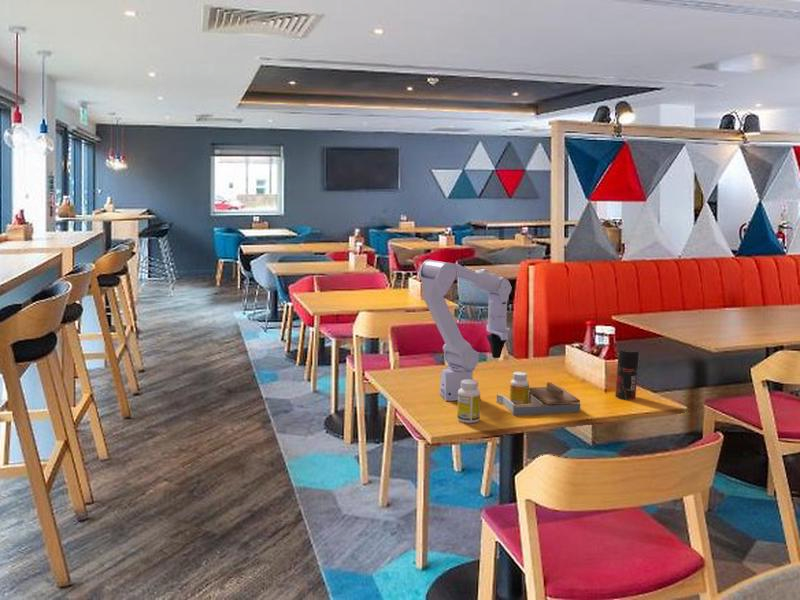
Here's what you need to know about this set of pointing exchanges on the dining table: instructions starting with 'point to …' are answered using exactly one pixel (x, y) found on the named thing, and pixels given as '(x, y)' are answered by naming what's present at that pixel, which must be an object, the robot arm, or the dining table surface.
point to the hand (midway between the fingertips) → (496, 357)
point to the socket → (537, 406)
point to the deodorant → (627, 373)
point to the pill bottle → (468, 401)
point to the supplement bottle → (519, 388)
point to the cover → (553, 394)
